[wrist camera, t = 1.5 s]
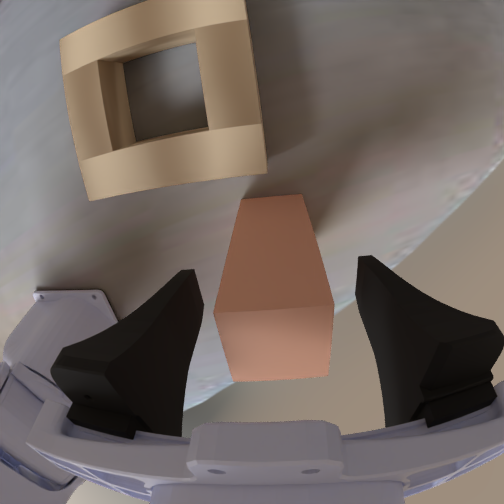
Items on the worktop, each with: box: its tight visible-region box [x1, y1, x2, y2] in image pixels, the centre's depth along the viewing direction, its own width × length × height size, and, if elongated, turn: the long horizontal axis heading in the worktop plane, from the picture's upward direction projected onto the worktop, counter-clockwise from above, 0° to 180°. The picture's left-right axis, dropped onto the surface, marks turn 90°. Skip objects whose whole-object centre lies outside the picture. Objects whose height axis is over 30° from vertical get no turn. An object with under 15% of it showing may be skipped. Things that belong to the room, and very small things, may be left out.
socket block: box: [60, 0, 267, 201], centre depth 13 cm, size 10×10×3 cm
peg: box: [213, 194, 334, 381], centre depth 14 cm, size 4×4×10 cm
